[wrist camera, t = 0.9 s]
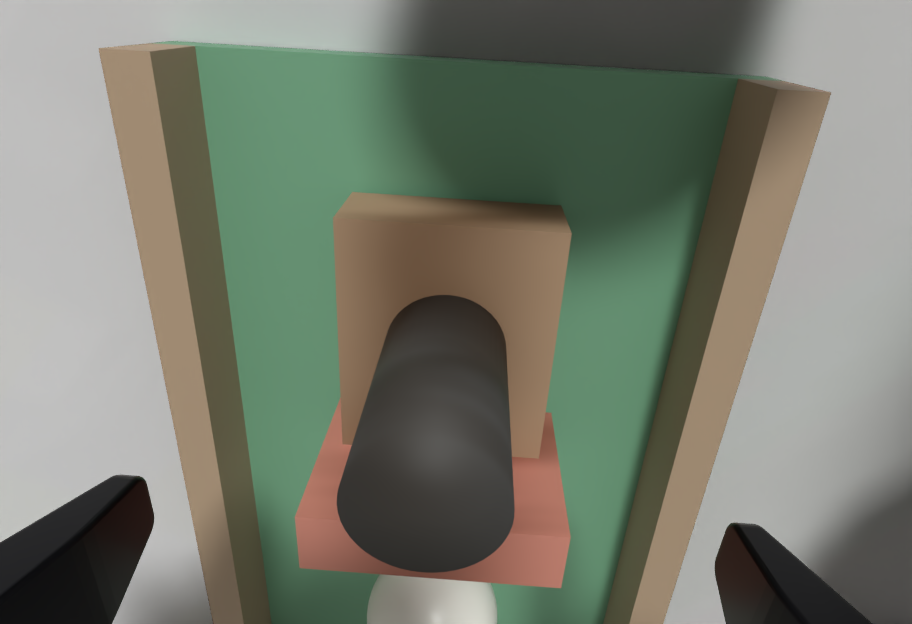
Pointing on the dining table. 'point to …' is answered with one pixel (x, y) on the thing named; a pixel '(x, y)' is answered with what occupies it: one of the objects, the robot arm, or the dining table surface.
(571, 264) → the tray
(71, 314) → the dining table surface
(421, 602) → the ball
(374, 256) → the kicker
